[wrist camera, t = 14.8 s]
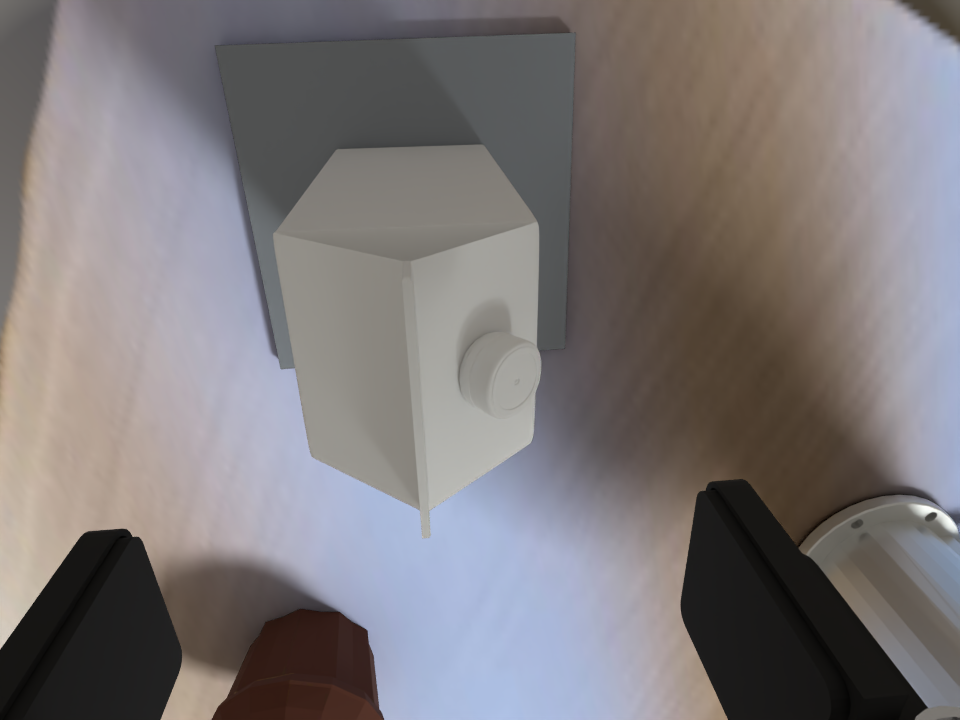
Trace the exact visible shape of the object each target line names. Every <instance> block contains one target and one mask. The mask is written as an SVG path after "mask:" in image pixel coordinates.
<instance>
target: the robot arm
mask: <svg viewBox="0 0 960 720" xmlns="http://www.w3.org/2000/svg"><path fill="white" fill-rule="evenodd" d="M681 614H682V618H683V622H684V624H685V627H686V629H687V631H688V633H689V635H690V638H691V640H692V642H693V644H694V646H695V648H696V651H697V653H698V655H699V657H700V659H701V662H702V664H703V666H704V668H705V670H706V672H707V675H708V677H709V679H710V681H711V683H712V686H713V688H714V690H715V692H716V694H717V696H718V699H719V701H720V703H721V705H722V707H723V710H724V712H725V714H726V716H727V718H728V720H960V535H959V531H958V528H957V525H956V524H955V522H954V521H953V519H952V518H951V517H950V516H949V515H948V514H947V513H946V512H945V511H944V510H942V509H941V508H940V507H939V506H938V505H936V504H935V503H933V502H931V501H929V500H927V499H924V498H920V497H917V496H911V495H891V496H881V497H877V498H873V499H869V500H865V501H863V502H860V503H857V504H855V505H852V506H850V507H848V508H846V509H844V510H842V511H840V512H838V513H836V514H835V515H833V516H832V517H830V518H829V519H827V520H826V521H825V522H823V523H822V524H820V525H819V526H818V527H817V528H816V529H815V530H814V531H813V532H812V533H811V534H810V535H809V536H808V537H807V538H806V539H805V540H804V542H803V543H802V544H801V545H800V547H799V548H798V547H797V546H796V545H795V543H794V542H793V541H792V539H791V538H790V537H789V535H788V534H787V533H786V531H785V530H784V529H783V527H782V526H781V525H780V524H779V522H778V521H777V520H776V518H775V517H774V516H773V514H772V513H771V512H770V510H769V509H768V508H767V506H766V505H765V504H764V502H763V501H762V500H761V498H760V497H759V496H758V495H757V493H756V492H755V491H754V489H753V488H752V487H751V485H750V484H749V483H748V482H747V481H746V480H743V479H738V480H726V481H713V482H710V483H709V484H708V485H707V488H706V491H700V492H699V493H698V495H697V499H696V506H695V512H694V518H693V525H692V531H691V538H690V544H689V551H688V557H687V564H686V570H685V577H684V583H683V590H682V596H681ZM181 662H182V650H181V646H180V643H179V641H178V638H177V635H176V632H175V630H174V627H173V624H172V621H171V619H170V616H169V613H168V610H167V608H166V605H165V602H164V599H163V597H162V594H161V591H160V588H159V586H158V583H157V580H156V577H155V575H154V572H153V569H152V566H151V563H150V561H149V558H148V555H147V552H146V550H145V547H144V544H143V542H142V540H141V539H140V538H139V537H132V535H131V533H130V532H129V531H128V530H127V529H113V530H100V531H89V532H86V533H84V534H83V535H82V536H81V537H80V538H79V540H78V541H77V543H76V544H75V545H74V547H73V548H72V550H71V551H70V552H69V554H68V555H67V557H66V558H65V559H64V561H63V562H62V564H61V565H60V566H59V568H58V569H57V571H56V572H55V573H54V575H53V576H52V578H51V579H50V580H49V582H48V583H47V585H46V586H45V588H44V589H43V590H42V592H41V593H40V595H39V596H38V597H37V599H36V600H35V602H34V603H33V604H32V606H31V607H30V609H29V610H28V611H27V613H26V614H25V616H24V617H23V618H22V620H21V621H20V623H19V624H18V626H17V627H16V628H15V630H14V631H13V633H12V634H11V635H10V637H9V638H8V640H7V641H6V642H5V644H4V645H3V647H2V648H1V649H0V720H160V719H161V717H162V714H163V712H164V709H165V707H166V704H167V702H168V699H169V697H170V694H171V692H172V689H173V687H174V684H175V682H176V679H177V676H178V674H179V671H180V668H181Z"/></svg>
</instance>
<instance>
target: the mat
mask: <svg viewBox="0 0 960 720" xmlns="http://www.w3.org/2000/svg"><path fill="white" fill-rule="evenodd" d="M575 37H576V33H551V34H523V35H495V36H467V37H439V38H412V39H384V40H356V41H328V42H300V43H272V44H244V45H216V46H215V49H216V54H217V59H218V64H219V69H220V74H221V79H222V84H223V89H224V94H225V98H226V103H227V108H228V113H229V118H230V123H231V128H232V133H233V138H234V143H235V147H236V152H237V157H238V162H239V167H240V172H241V177H242V182H243V187H244V192H245V197H246V201H247V206H248V211H249V216H250V221H251V226H252V231H253V236H254V241H255V246H256V251H257V255H258V260H259V265H260V270H261V275H262V280H263V285H264V290H265V295H266V300H267V305H268V309H269V314H270V319H271V324H272V329H273V334H274V339H275V344H276V349H277V354H278V359H279V363H280V368H281V369H291V368H295V365H294V359H293V353H292V348H291V342H290V336H289V330H288V325H287V319H286V313H285V307H284V301H283V296H282V290H281V284H280V278H279V273H278V267H277V261H276V255H275V248H274V241H273V233H274V232H276V230H277V229H278V228H279V226H280V225H281V224H282V222H283V221H284V220H285V218H286V217H287V216H288V214H289V213H290V211H291V210H292V209H293V207H294V206H295V205H296V203H297V202H298V201H299V199H300V198H301V197H302V195H303V194H304V193H305V191H306V190H307V189H308V187H309V186H310V184H311V183H312V182H313V180H314V179H315V178H316V176H317V175H318V174H319V172H320V171H321V170H322V168H323V167H324V166H325V164H326V163H327V162H328V160H329V159H330V157H331V156H332V155H333V153H334V152H335V151H336V150H337V149H355V148H386V147H417V146H448V145H480V144H482V145H484V146H485V147H486V149H487V150H488V152H489V153H490V154H491V156H492V157H493V159H494V160H495V162H496V163H497V164H498V166H499V167H500V169H501V170H502V171H503V173H504V174H505V176H506V177H507V178H508V180H509V181H510V183H511V184H512V186H513V187H514V188H515V190H516V191H517V193H518V194H519V195H520V197H521V198H522V200H523V201H524V202H525V204H526V205H527V207H528V208H529V209H530V211H531V212H532V214H533V215H534V217H535V219H536V220H537V222H538V225H539V280H538V317H537V348H538V350H539V351H540V350H554V349H565V334H566V304H567V275H568V245H569V215H570V186H571V156H572V126H573V97H574V67H575Z"/></svg>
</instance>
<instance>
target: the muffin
mask: <svg viewBox="0 0 960 720" xmlns="http://www.w3.org/2000/svg"><path fill="white" fill-rule="evenodd" d="M212 720H384V718H383V715H382V713H381V711H380V710H379V702H378V693H377V684H376V675H375V665H374V656H373V653H372V650H371V648H370V645H369V641H368V631H367V630H366V629H364V628H362V627H360V626H358V625H357V624H355V623H353V622H351V621H350V620H349V619H348V618H346V617H345V616H344V615H343V614H341V613H340V612H319V611H312V610H306V609H298V610H296V611H294V612H292V613H290V614H288V615H286V616H284V617H281V618H277V619H274V620H271V621H267V622H265V625H264V627H263V629H262V631H261V633H260V635H259V636H258V638H257V639H256V640H255V641H254V643H253V644H252V645H251V646H250V649H249V651H248V653H247V655H246V657H245V659H244V662H243V664H242V666H241V668H240V670H239V672H238V675H237V677H236V679H235V681H234V683H233V685H232V688H231V690H230V692H229V694H228V696H227V698H226V699H225V700H224V701H223V702H222V703H221V704H220V705H219V706H218V708H217V710H216V712H215V714H214V716H213V718H212Z"/></svg>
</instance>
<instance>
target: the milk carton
mask: <svg viewBox="0 0 960 720" xmlns="http://www.w3.org/2000/svg"><path fill="white" fill-rule="evenodd" d="M273 241H274V248H275V255H276V261H277V267H278V273H279V278H280V284H281V290H282V296H283V301H284V307H285V313H286V319H287V325H288V330H289V336H290V342H291V348H292V353H293V359H294V365H295V371H296V376H297V382H298V388H299V394H300V399H301V405H302V411H303V417H304V422H305V428H306V434H307V439H308V444H309V449H310V453H311V456H312V457H313V458H315V459H317V460H319V461H321V462H323V463H325V464H327V465H329V466H331V467H333V468H335V469H337V470H339V471H341V472H343V473H345V474H347V475H349V476H351V477H353V478H355V479H357V480H359V481H361V482H363V483H365V484H367V485H369V486H372V487H374V488H376V489H378V490H380V491H382V492H384V493H386V494H388V495H390V496H392V497H394V498H396V499H398V500H400V501H402V502H404V503H406V504H408V505H410V506H412V507H414V508H416V509H418V510H420V516H421V529H422V538H429V537H430V536H431V534H430V517H429V511H430V510H431V509H433V508H435V507H436V506H438V505H439V504H441V503H442V502H444V501H445V500H447V499H448V498H450V497H451V496H453V495H454V494H456V493H457V492H459V491H460V490H462V489H463V488H465V487H466V486H468V485H469V484H471V483H472V482H474V481H475V480H477V479H478V478H480V477H481V476H483V475H484V474H486V473H487V472H489V471H490V470H492V469H493V468H495V467H496V466H498V465H499V464H501V463H502V462H504V461H505V460H507V459H508V458H510V457H511V456H513V455H514V454H516V453H517V452H519V451H520V450H522V449H523V448H525V447H526V446H527V445H529V444H530V443H531V442H532V439H533V434H534V420H535V392H536V390H537V387H538V384H539V381H540V376H541V357H540V353H539V350H538V348H537V317H538V280H539V225H538V222H537V220H536V219H535V217H534V215H533V214H532V212H531V211H530V209H529V208H528V207H527V205H526V204H525V202H524V201H523V200H522V198H521V197H520V195H519V194H518V193H517V191H516V190H515V188H514V187H513V186H512V184H511V183H510V181H509V180H508V178H507V177H506V176H505V174H504V173H503V171H502V170H501V169H500V167H499V166H498V164H497V163H496V162H495V160H494V159H493V157H492V156H491V154H490V153H489V152H488V150H487V149H486V147H485V146H484V145H482V144H480V145H448V146H417V147H386V148H355V149H337V150H336V151H335V152H334V153H333V155H332V156H331V157H330V159H329V160H328V162H327V163H326V164H325V166H324V167H323V168H322V170H321V171H320V172H319V174H318V175H317V176H316V178H315V179H314V180H313V182H312V183H311V184H310V186H309V187H308V189H307V190H306V191H305V193H304V194H303V195H302V197H301V198H300V199H299V201H298V202H297V203H296V205H295V206H294V207H293V209H292V210H291V211H290V213H289V214H288V216H287V217H286V218H285V220H284V221H283V222H282V224H281V225H280V226H279V228H278V229H277V230H276V232H274V233H273Z"/></svg>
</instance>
